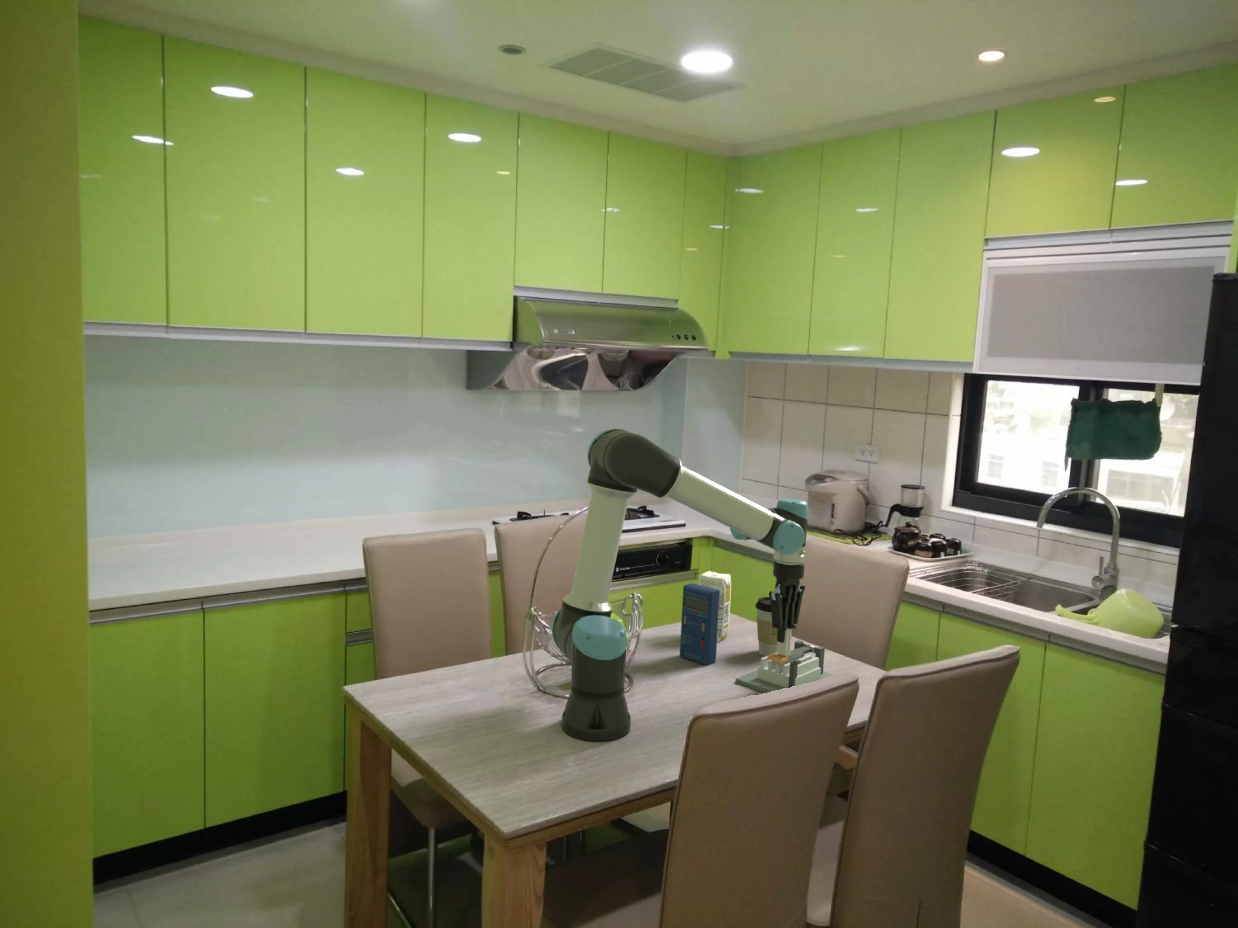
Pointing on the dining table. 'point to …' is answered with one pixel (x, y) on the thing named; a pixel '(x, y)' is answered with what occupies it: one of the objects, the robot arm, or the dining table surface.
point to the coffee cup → (766, 627)
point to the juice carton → (724, 586)
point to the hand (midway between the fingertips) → (783, 653)
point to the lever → (792, 653)
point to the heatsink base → (786, 672)
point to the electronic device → (699, 623)
